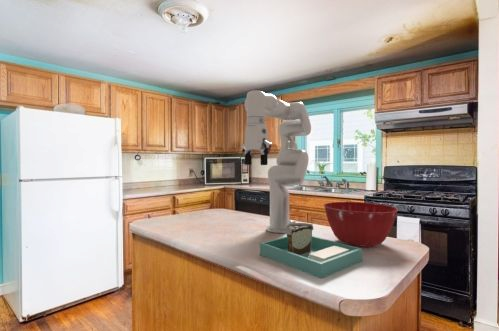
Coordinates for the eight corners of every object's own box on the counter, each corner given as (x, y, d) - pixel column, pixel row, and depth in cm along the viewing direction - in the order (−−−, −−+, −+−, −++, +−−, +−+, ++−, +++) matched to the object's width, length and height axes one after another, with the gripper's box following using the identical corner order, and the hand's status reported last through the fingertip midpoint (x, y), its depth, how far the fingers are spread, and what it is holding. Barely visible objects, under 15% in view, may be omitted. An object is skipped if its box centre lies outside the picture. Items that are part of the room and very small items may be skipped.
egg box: (334, 256, 97) (334, 245, 97) (350, 261, 93) (350, 249, 93) (307, 266, 88) (307, 253, 88) (324, 272, 84) (324, 259, 84)
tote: (301, 245, 114) (301, 232, 114) (362, 263, 94) (362, 248, 94) (259, 257, 100) (260, 243, 100) (321, 281, 80) (321, 264, 80)
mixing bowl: (342, 231, 137) (342, 199, 137) (407, 243, 117) (407, 205, 117) (310, 243, 117) (310, 205, 116) (383, 260, 97) (383, 215, 97)
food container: (300, 247, 108) (300, 221, 108) (313, 251, 103) (313, 224, 103) (277, 254, 100) (277, 225, 100) (290, 258, 95) (290, 229, 95)
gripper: (277, 121, 110) (277, 165, 111) (249, 125, 124) (249, 164, 124) (263, 119, 105) (263, 165, 106) (235, 123, 119) (235, 164, 119)
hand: (255, 164), depth 115 cm, fingers open, 9 cm apart
